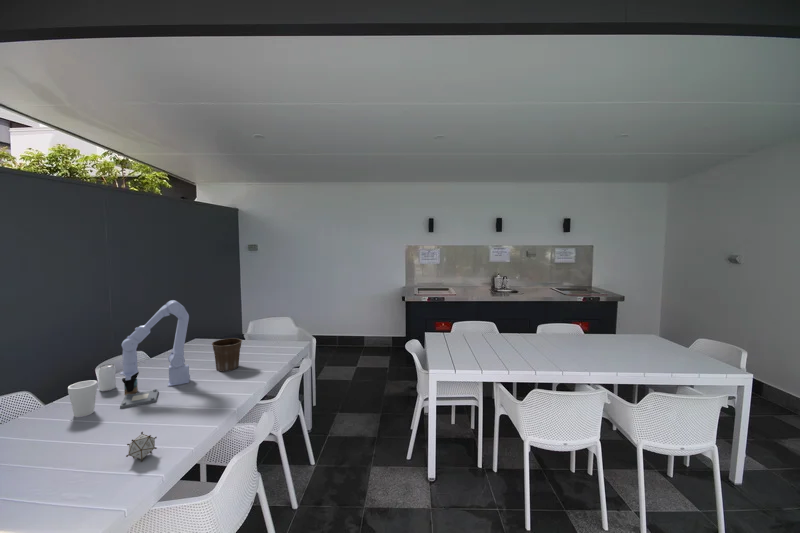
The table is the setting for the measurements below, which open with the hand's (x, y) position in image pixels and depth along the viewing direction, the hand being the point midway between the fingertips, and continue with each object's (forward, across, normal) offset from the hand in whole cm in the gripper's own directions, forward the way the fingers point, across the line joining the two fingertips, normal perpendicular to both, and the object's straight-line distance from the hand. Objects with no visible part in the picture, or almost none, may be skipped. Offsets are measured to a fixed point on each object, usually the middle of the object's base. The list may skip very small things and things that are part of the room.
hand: (131, 389), depth 168 cm
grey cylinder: (+2, -12, -11) cm, 16 cm away
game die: (+2, +68, +12) cm, 69 cm away
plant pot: (+2, -14, +44) cm, 46 cm away
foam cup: (+2, +16, -14) cm, 22 cm away
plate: (+2, +12, +5) cm, 13 cm away
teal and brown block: (+2, 0, 0) cm, 2 cm away
